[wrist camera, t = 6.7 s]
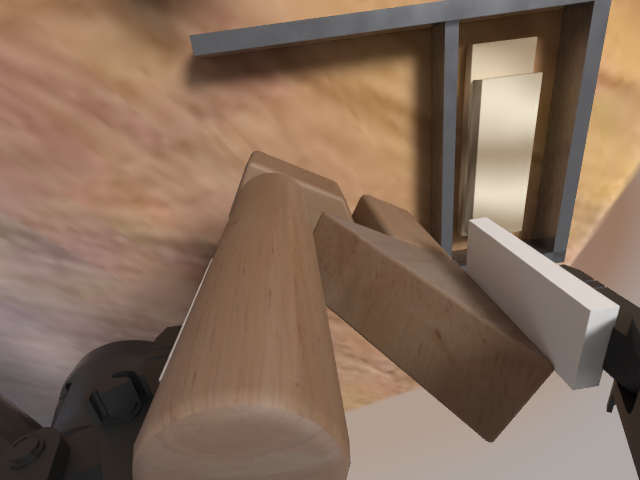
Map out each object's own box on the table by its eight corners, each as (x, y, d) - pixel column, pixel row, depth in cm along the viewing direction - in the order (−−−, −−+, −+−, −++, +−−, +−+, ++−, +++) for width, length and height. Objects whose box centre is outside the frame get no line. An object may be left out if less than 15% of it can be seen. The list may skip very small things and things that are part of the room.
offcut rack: (543, 248, 36) (563, 261, 33) (258, 290, 35) (255, 307, 33) (582, -12, 27) (615, -23, 24) (200, 40, 26) (189, 35, 24)
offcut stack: (504, 223, 35) (523, 235, 32) (455, 230, 35) (468, 242, 32) (525, 38, 28) (550, 34, 26) (464, 46, 28) (482, 42, 25)
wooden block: (385, 256, 25) (580, 599, 8) (235, 202, 22) (89, 539, 6) (410, 209, 23) (699, 505, 7) (254, 146, 21) (138, 376, 5)
